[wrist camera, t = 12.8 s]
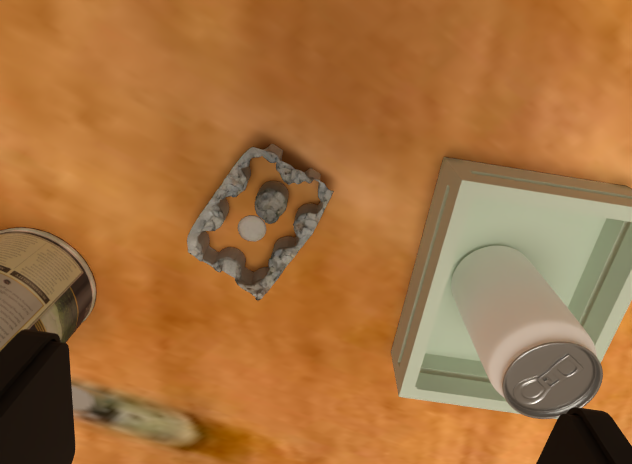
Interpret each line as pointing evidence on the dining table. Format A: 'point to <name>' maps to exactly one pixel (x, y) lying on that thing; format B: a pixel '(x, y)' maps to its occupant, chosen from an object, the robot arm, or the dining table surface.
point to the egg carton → (257, 221)
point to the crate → (533, 242)
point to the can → (525, 334)
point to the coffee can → (42, 285)
